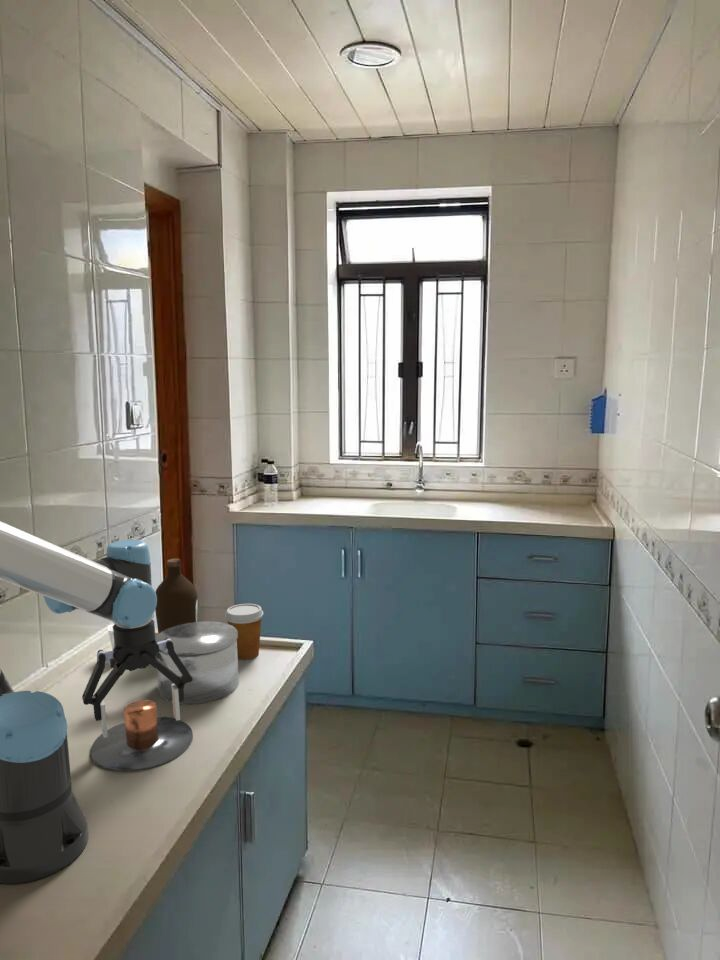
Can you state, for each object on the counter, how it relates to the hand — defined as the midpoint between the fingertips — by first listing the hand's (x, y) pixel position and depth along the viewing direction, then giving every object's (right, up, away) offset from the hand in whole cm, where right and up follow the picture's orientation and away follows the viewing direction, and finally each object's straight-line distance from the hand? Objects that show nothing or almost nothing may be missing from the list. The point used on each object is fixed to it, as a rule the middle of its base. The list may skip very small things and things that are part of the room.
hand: (141, 725), depth 138 cm
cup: (-18, +2, +41) cm, 45 cm away
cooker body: (+1, 0, +23) cm, 23 cm away
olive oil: (-3, +3, +43) cm, 43 cm away
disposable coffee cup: (+14, +3, +42) cm, 45 cm away
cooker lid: (0, -4, +1) cm, 4 cm away
